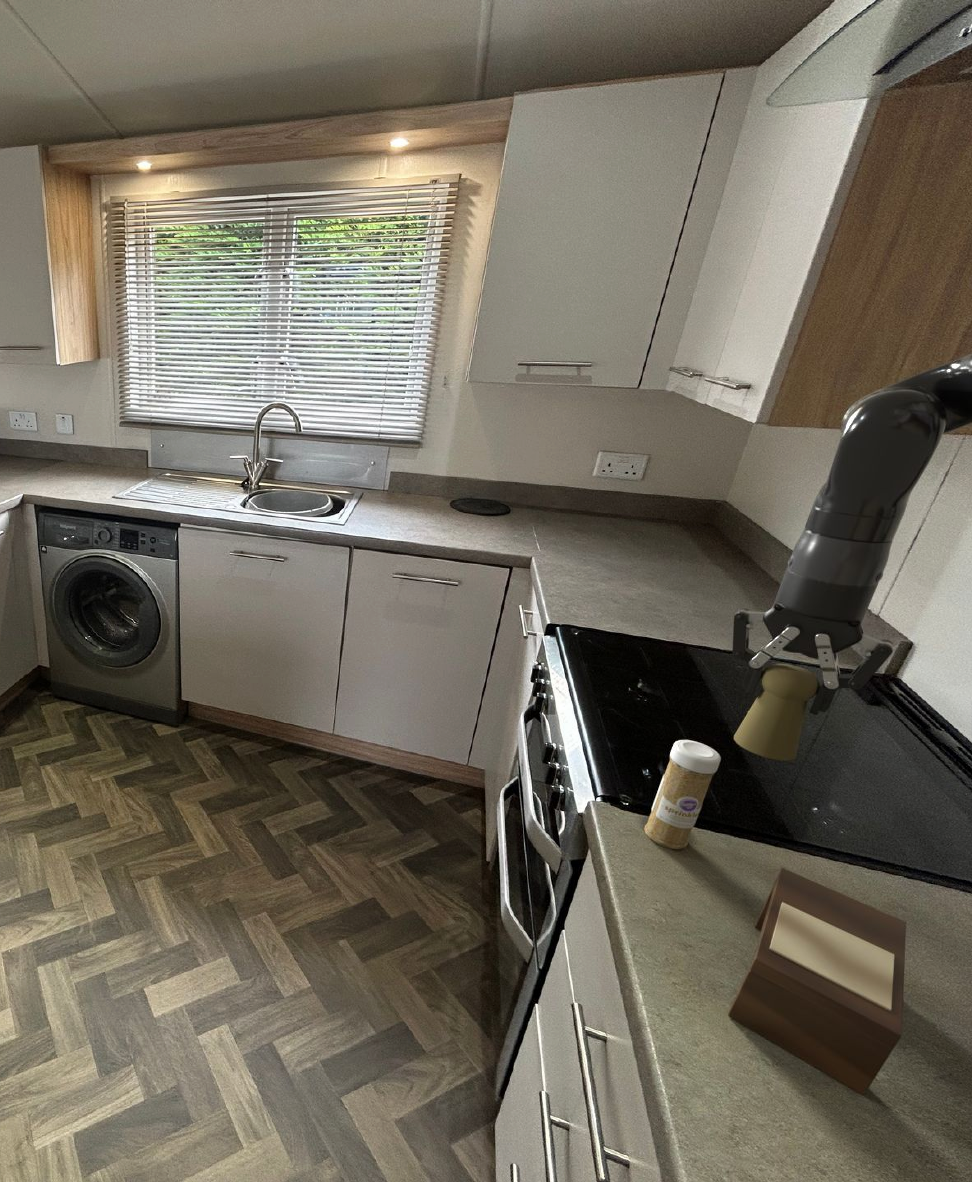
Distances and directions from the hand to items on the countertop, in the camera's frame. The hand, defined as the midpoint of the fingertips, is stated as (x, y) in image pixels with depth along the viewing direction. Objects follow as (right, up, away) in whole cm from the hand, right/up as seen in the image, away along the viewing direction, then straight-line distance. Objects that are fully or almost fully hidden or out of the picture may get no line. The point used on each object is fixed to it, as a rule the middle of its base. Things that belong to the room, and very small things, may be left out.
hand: (781, 701), depth 78 cm
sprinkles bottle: (-12, -18, +3) cm, 22 cm away
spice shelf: (-14, -25, -17) cm, 34 cm away
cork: (0, -6, +2) cm, 7 cm away
